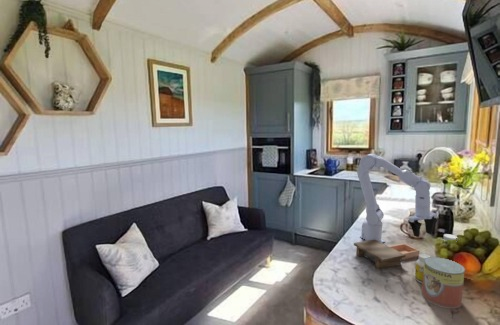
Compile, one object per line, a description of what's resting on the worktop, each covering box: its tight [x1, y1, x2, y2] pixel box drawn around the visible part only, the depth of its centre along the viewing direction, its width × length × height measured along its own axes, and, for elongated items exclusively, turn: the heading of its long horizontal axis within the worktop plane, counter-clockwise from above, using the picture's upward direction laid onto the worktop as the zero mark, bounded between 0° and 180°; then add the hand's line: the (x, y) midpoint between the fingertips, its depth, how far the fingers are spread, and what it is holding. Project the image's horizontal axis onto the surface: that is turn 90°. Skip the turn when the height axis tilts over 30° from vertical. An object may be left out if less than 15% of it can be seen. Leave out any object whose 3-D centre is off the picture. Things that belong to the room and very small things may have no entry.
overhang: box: [353, 239, 405, 270], centre depth 123 cm, size 17×12×5 cm
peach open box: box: [388, 243, 421, 261], centre depth 128 cm, size 8×10×3 cm
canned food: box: [421, 256, 466, 309], centre depth 96 cm, size 11×11×12 cm
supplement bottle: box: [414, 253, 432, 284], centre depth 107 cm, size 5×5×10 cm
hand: (422, 234), depth 131 cm, fingers open, 7 cm apart
